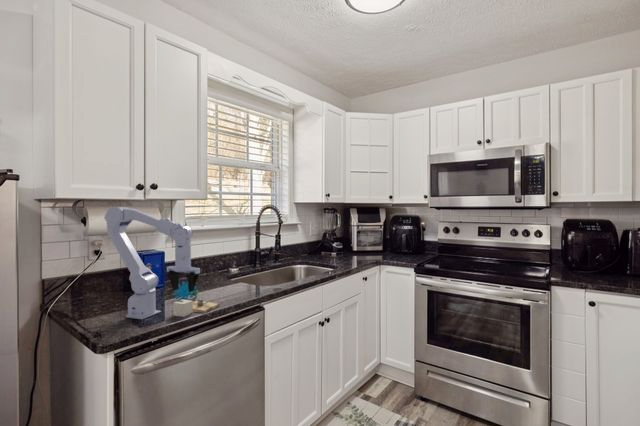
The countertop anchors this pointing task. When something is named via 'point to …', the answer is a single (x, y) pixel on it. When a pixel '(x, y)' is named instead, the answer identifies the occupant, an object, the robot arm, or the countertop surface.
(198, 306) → the shaft plate
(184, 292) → the gear
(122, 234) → the robot arm
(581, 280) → the countertop surface
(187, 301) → the white cube
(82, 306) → the countertop surface
